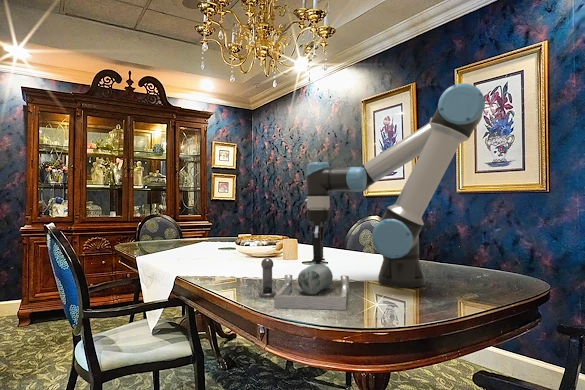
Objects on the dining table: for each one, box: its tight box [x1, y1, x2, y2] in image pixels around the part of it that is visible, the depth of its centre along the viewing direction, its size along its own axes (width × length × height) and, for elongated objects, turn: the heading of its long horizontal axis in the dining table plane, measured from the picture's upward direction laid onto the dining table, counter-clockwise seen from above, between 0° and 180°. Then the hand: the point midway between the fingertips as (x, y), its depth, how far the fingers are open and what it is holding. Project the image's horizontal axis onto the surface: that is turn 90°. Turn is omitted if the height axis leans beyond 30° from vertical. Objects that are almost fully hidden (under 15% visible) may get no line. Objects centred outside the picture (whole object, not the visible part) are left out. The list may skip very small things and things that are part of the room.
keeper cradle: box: [273, 274, 350, 311], centre depth 112 cm, size 20×20×5 cm
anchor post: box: [258, 257, 277, 298], centre depth 117 cm, size 5×5×11 cm
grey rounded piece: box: [297, 263, 334, 296], centre depth 121 cm, size 14×10×10 cm
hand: (318, 280), depth 130 cm, fingers closed
